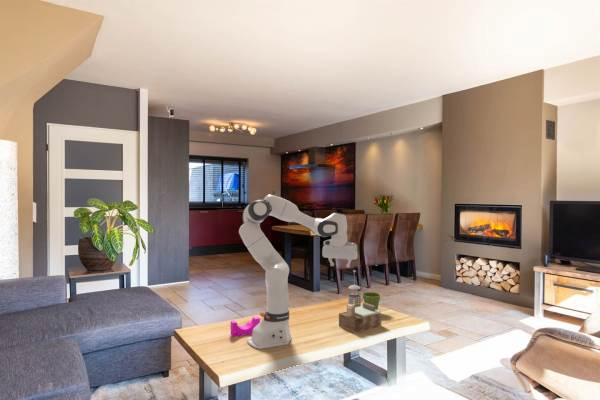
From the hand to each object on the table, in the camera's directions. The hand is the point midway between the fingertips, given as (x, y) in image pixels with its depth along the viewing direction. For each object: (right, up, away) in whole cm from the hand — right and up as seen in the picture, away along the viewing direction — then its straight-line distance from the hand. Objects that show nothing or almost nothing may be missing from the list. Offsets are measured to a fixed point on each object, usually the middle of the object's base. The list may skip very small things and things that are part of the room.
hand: (339, 266), depth 208 cm
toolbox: (+11, -34, +1) cm, 35 cm away
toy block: (-52, -34, -10) cm, 63 cm away
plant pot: (+22, -33, +26) cm, 48 cm away
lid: (+14, -26, +3) cm, 30 cm away
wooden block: (+6, -33, -3) cm, 33 cm away
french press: (+13, -33, +32) cm, 48 cm away
